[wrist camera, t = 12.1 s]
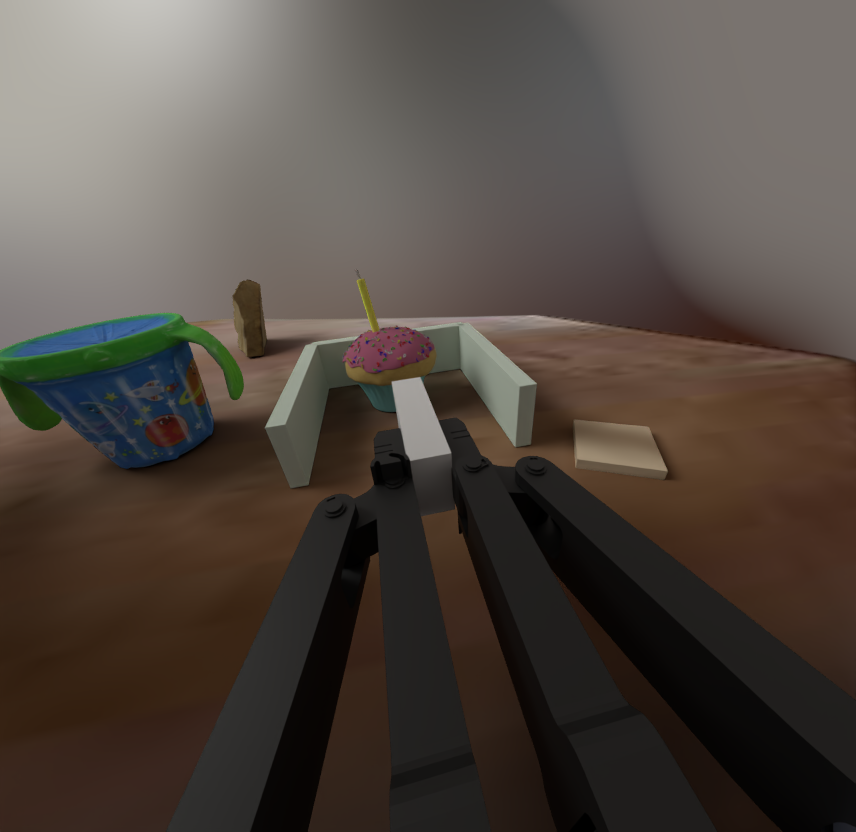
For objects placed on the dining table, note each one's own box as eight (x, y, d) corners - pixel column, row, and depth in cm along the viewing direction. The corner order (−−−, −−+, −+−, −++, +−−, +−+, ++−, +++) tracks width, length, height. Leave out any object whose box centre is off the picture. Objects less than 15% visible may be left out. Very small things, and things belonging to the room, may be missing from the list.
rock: (273, 342, 44) (298, 314, 52) (214, 296, 41) (249, 273, 48) (237, 384, 49) (264, 353, 57) (181, 347, 45) (218, 319, 53)
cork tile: (661, 485, 20) (667, 471, 19) (574, 473, 21) (577, 459, 21) (643, 440, 24) (648, 426, 23) (571, 432, 25) (574, 419, 25)
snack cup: (18, 497, 23) (-116, 371, 18) (125, 422, 32) (56, 322, 27) (229, 474, 24) (157, 342, 18) (277, 405, 33) (238, 303, 27)
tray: (530, 444, 24) (536, 383, 21) (290, 488, 22) (264, 427, 19) (467, 363, 38) (466, 321, 35) (319, 385, 36) (306, 343, 33)
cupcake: (336, 415, 30) (298, 278, 24) (382, 378, 36) (362, 263, 30) (418, 429, 27) (399, 275, 20) (452, 385, 33) (446, 258, 27)
